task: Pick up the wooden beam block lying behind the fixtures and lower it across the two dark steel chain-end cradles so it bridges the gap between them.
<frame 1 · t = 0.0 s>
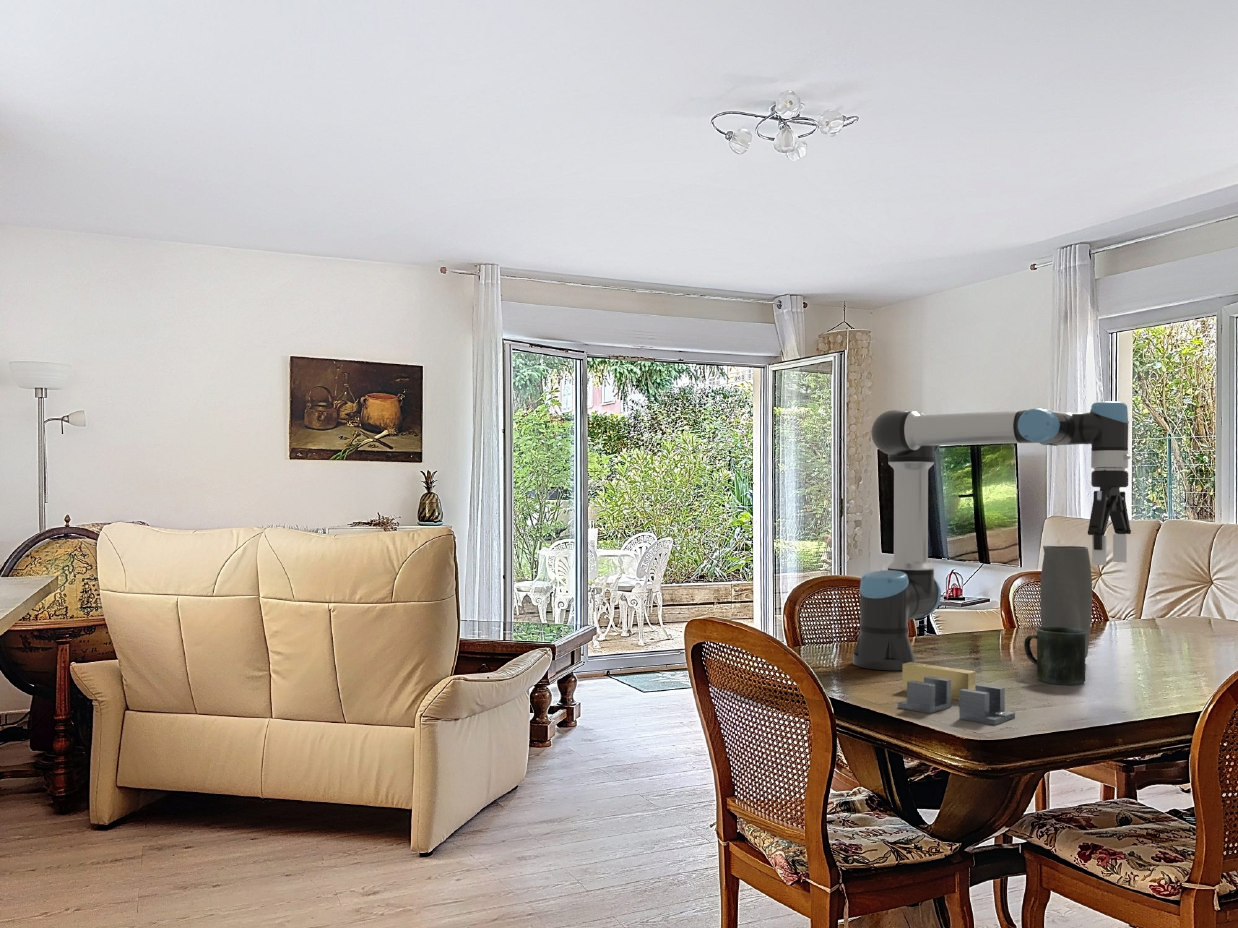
hand: (1109, 563, 222), 28 cm above the table, fingers open, 13 cm apart
wooden beam block: (938, 695, 211), on the table
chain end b: (982, 717, 190), on the table
mug: (1054, 681, 229), on the table
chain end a: (929, 707, 198), on the table
vase: (1066, 663, 253), on the table
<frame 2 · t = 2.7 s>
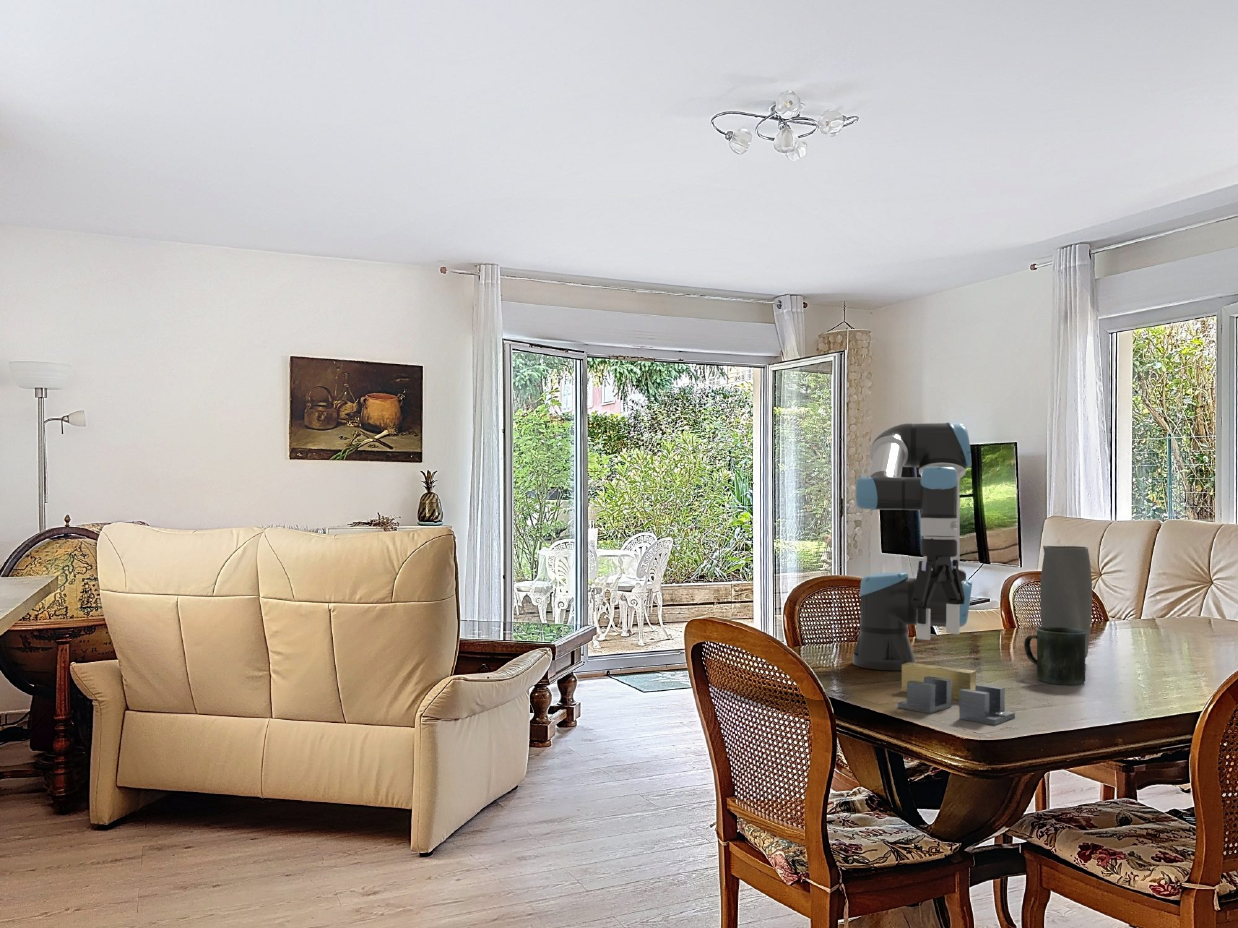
hand: (938, 636, 211), 12 cm above the table, fingers open, 13 cm apart
nothing on the table moved.
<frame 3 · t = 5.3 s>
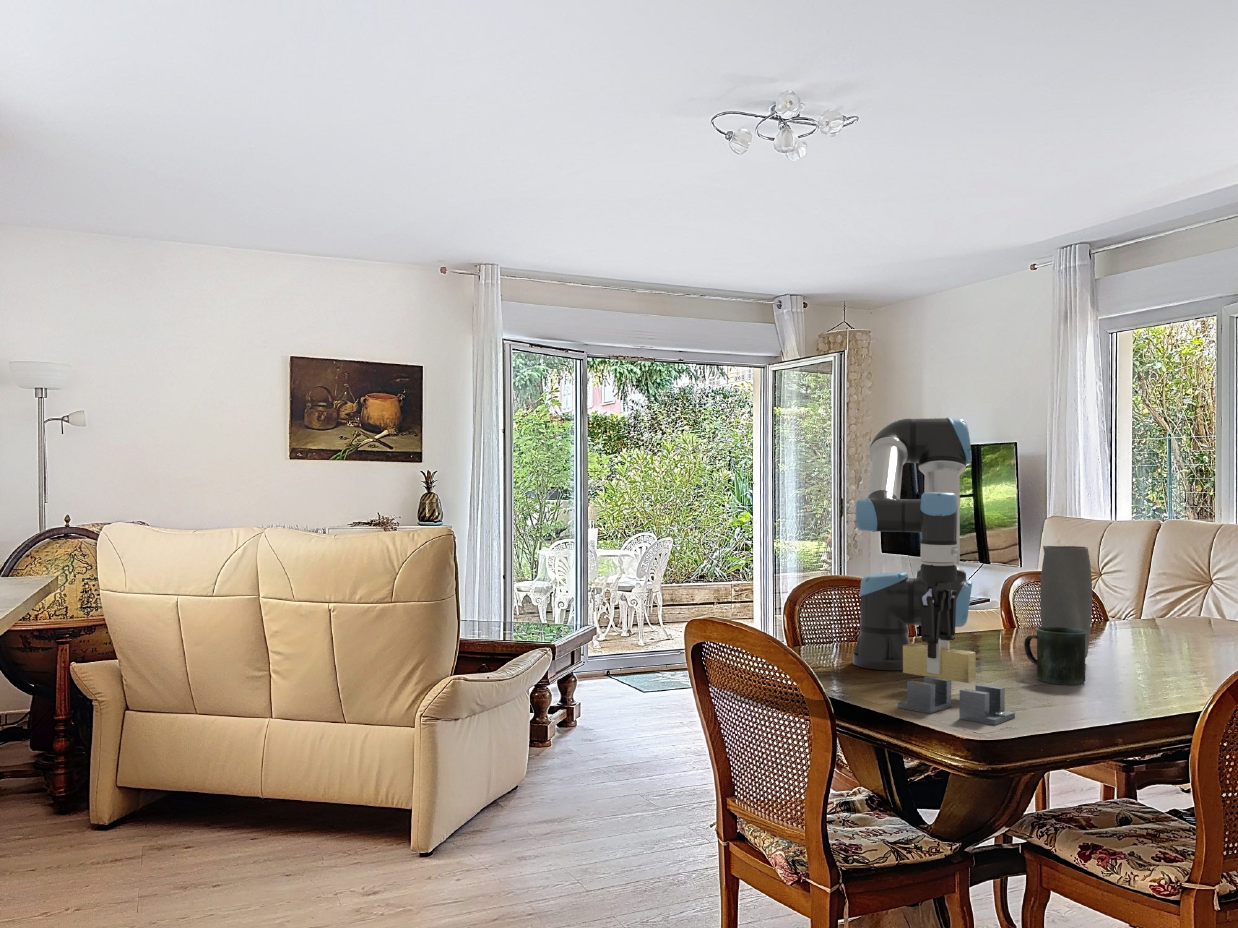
hand: (938, 670, 212), 5 cm above the table, fingers closed on wooden beam block, 3 cm apart
wooden beam block: (938, 676, 212), point 4 cm above the table, touching gripper
everything else where it was.
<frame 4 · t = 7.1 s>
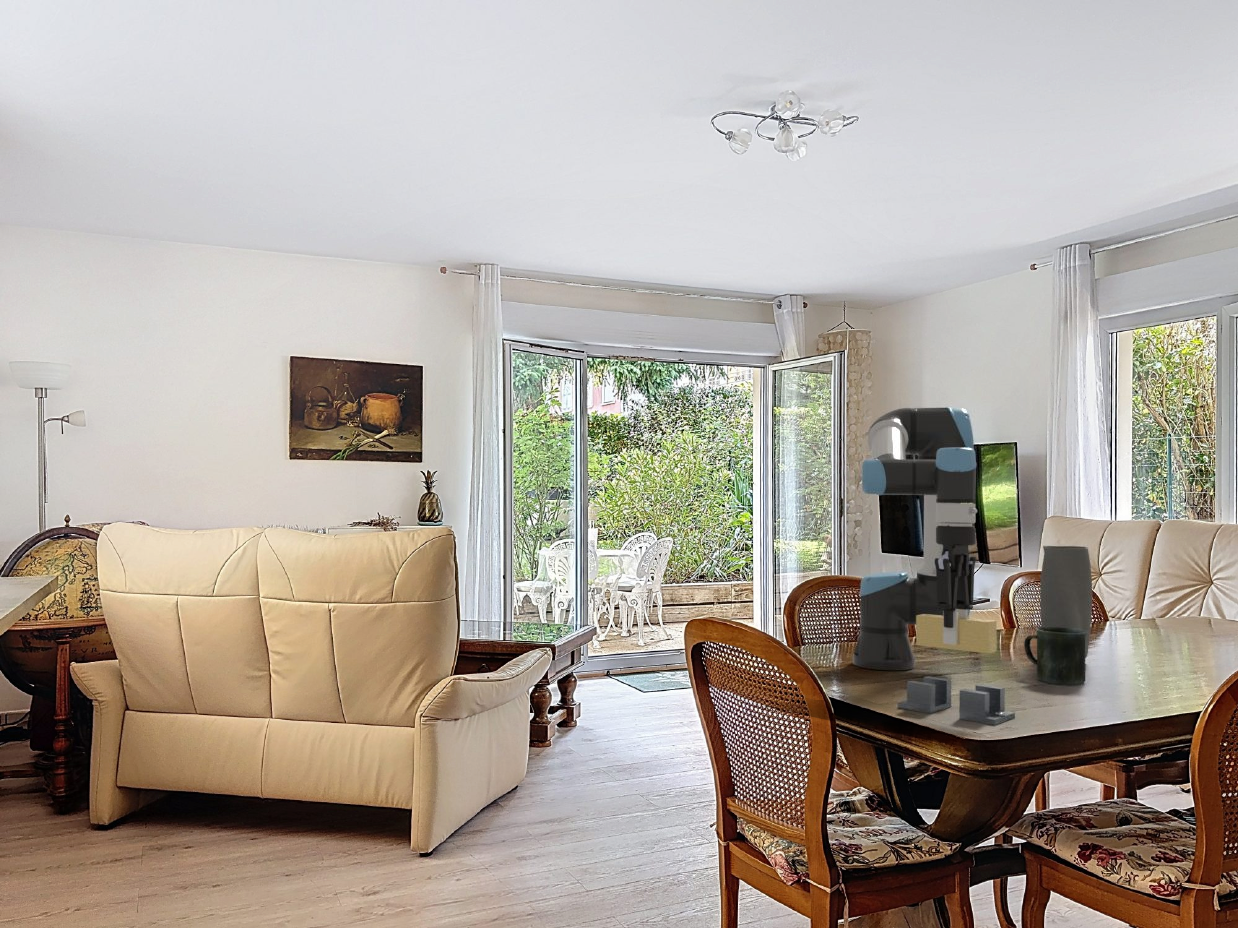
hand: (955, 642, 194), 14 cm above the table, fingers closed on wooden beam block, 3 cm apart
wooden beam block: (955, 648, 194), point 13 cm above the table, touching gripper
everything else where it was.
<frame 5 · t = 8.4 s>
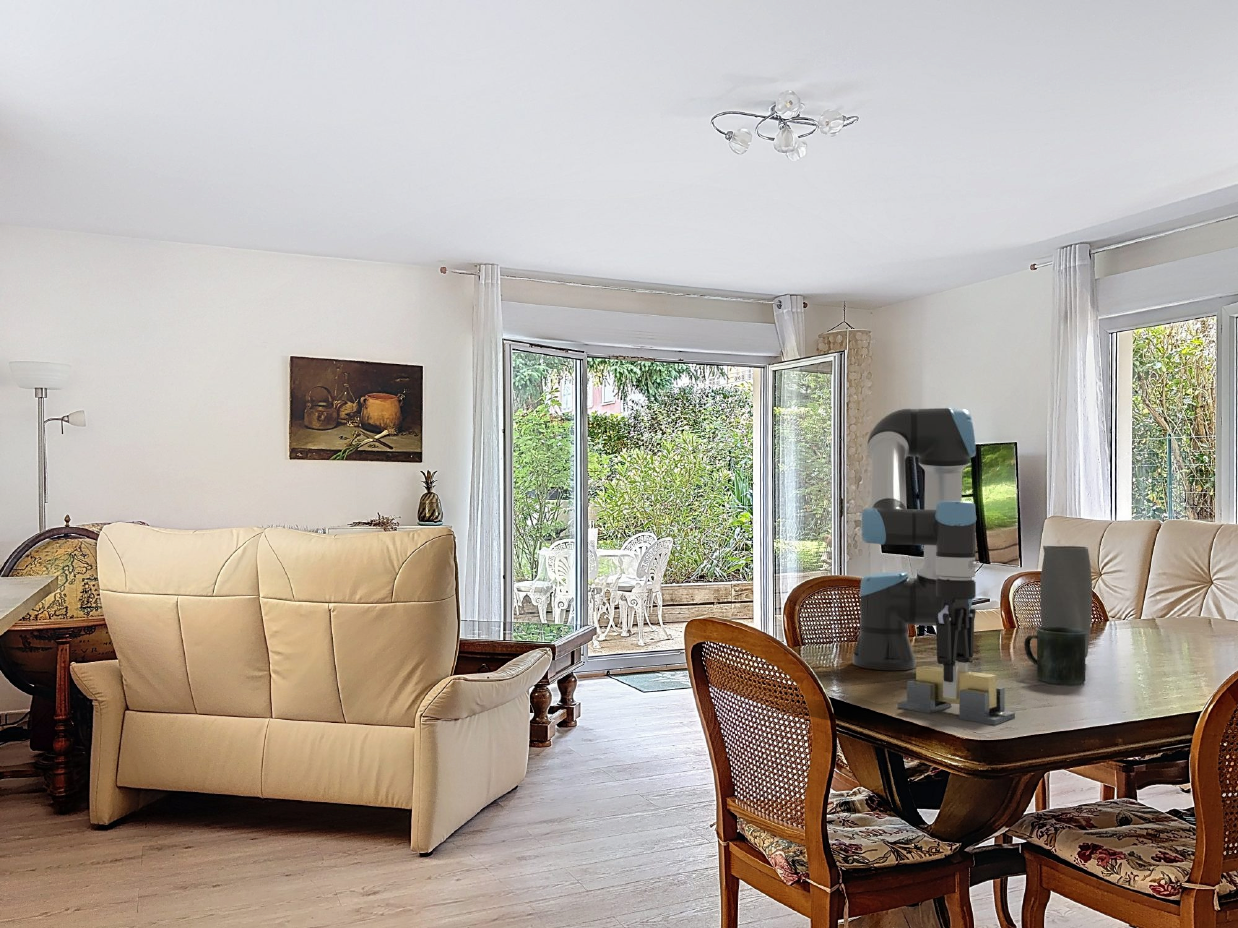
hand: (955, 696, 194), 3 cm above the table, fingers closed on wooden beam block, 3 cm apart
wooden beam block: (955, 701, 194), point 2 cm above the table, touching gripper
everything else where it was.
when the fingers open (1 cm above the table, at t = 8.9 s): wooden beam block stays where it is, resting on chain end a, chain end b.
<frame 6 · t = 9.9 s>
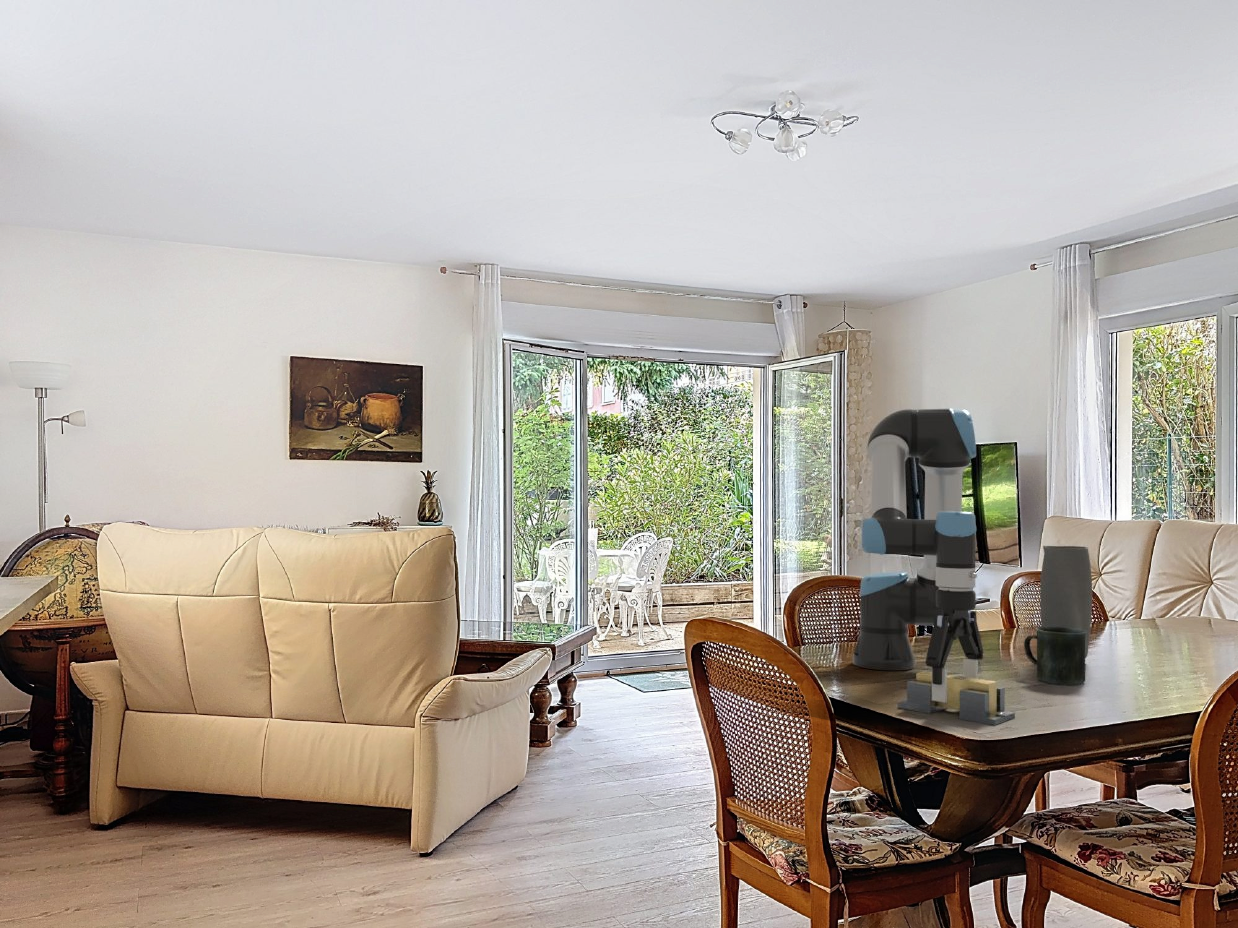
hand: (955, 696, 194), 3 cm above the table, fingers open, 13 cm apart
wooden beam block: (955, 707, 194), point 1 cm above the table, touching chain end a, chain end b
everything else where it was.
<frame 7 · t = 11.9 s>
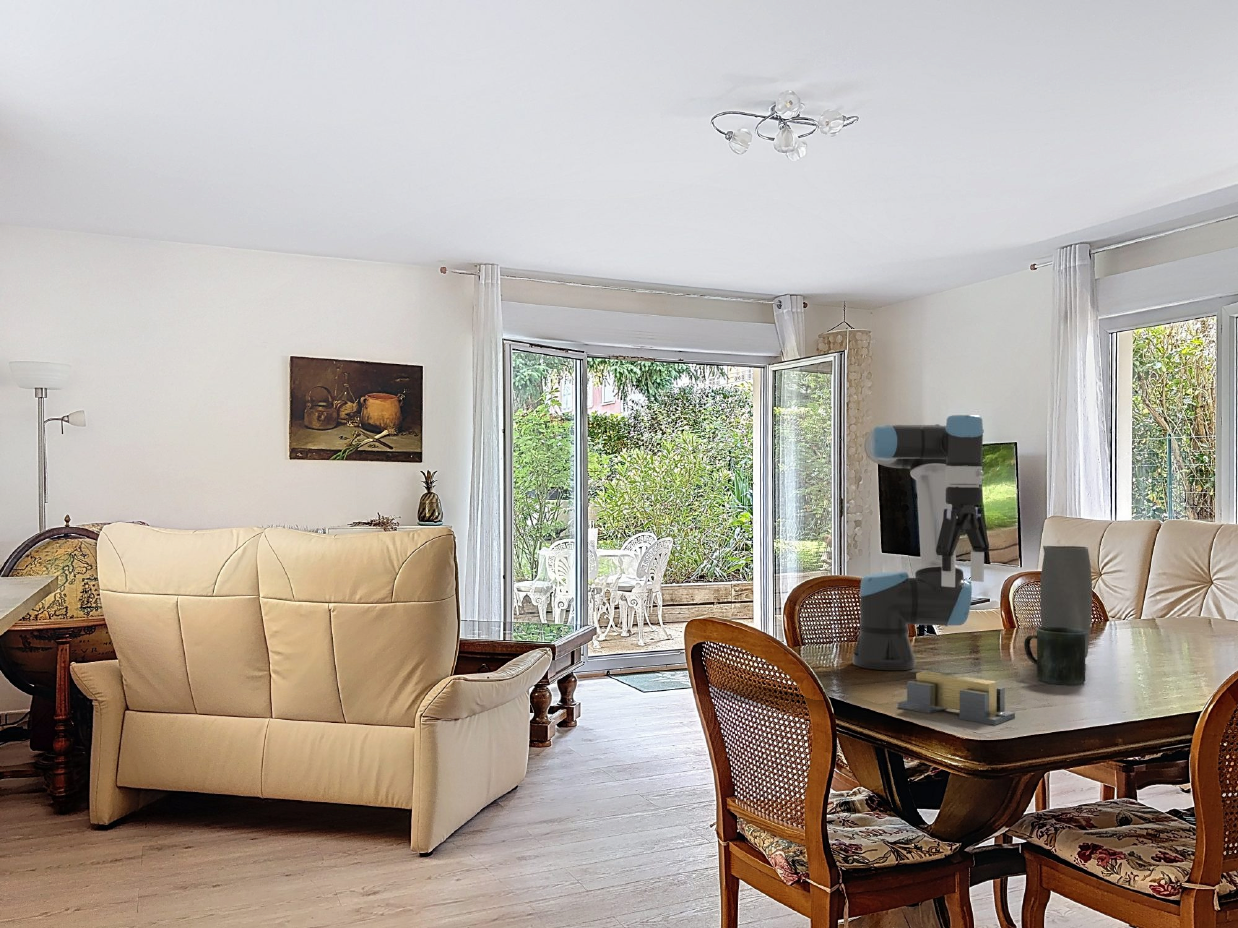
hand: (963, 583, 212), 24 cm above the table, fingers open, 13 cm apart
nothing on the table moved.
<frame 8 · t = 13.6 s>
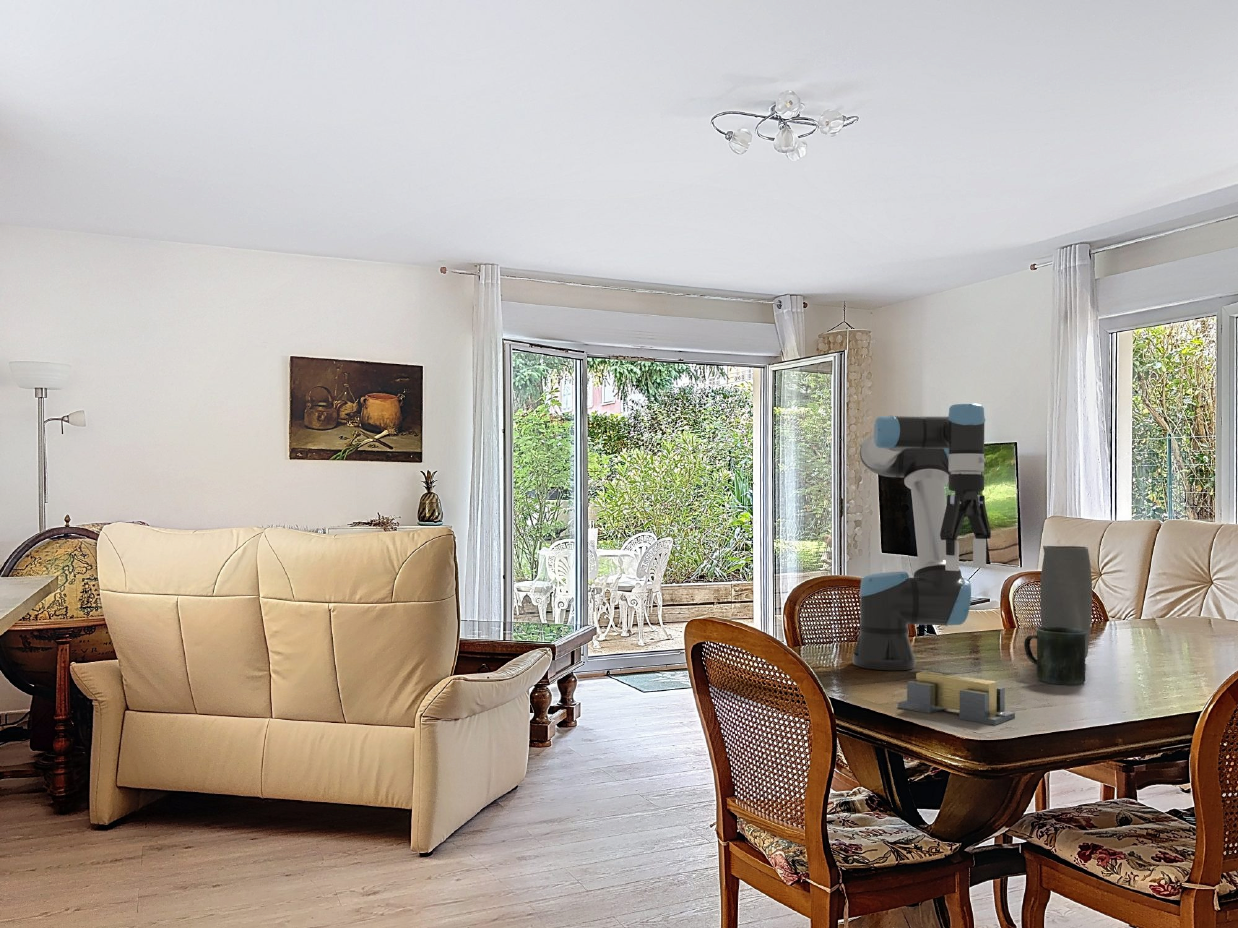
hand: (966, 569, 217), 27 cm above the table, fingers open, 13 cm apart
nothing on the table moved.
at the end: wooden beam block 0.1 cm from the target spot, point 1.0 cm above the table; wooden beam block touching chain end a, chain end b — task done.
